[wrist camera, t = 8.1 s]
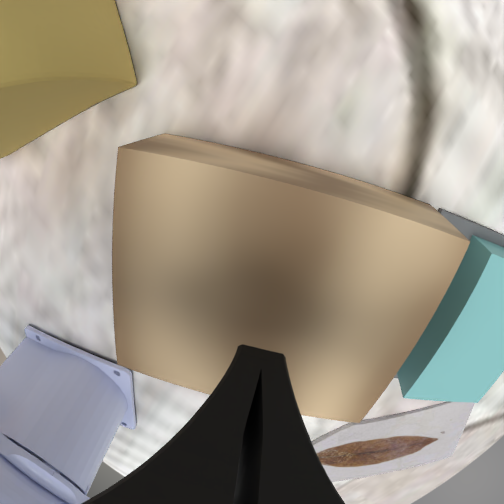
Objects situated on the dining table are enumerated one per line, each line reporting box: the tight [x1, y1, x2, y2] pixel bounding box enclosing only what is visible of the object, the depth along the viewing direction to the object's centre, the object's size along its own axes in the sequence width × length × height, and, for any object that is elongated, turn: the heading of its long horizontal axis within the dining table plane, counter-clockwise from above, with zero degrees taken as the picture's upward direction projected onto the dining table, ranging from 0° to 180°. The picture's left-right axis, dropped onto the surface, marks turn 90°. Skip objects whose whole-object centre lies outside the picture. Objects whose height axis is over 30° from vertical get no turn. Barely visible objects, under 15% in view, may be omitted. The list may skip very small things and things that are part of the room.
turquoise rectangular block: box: [397, 235, 504, 403], centre depth 14 cm, size 6×9×2 cm, turn 168°
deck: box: [112, 134, 470, 423], centre depth 13 cm, size 12×10×4 cm
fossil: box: [312, 401, 474, 482], centre depth 21 cm, size 16×1×10 cm
